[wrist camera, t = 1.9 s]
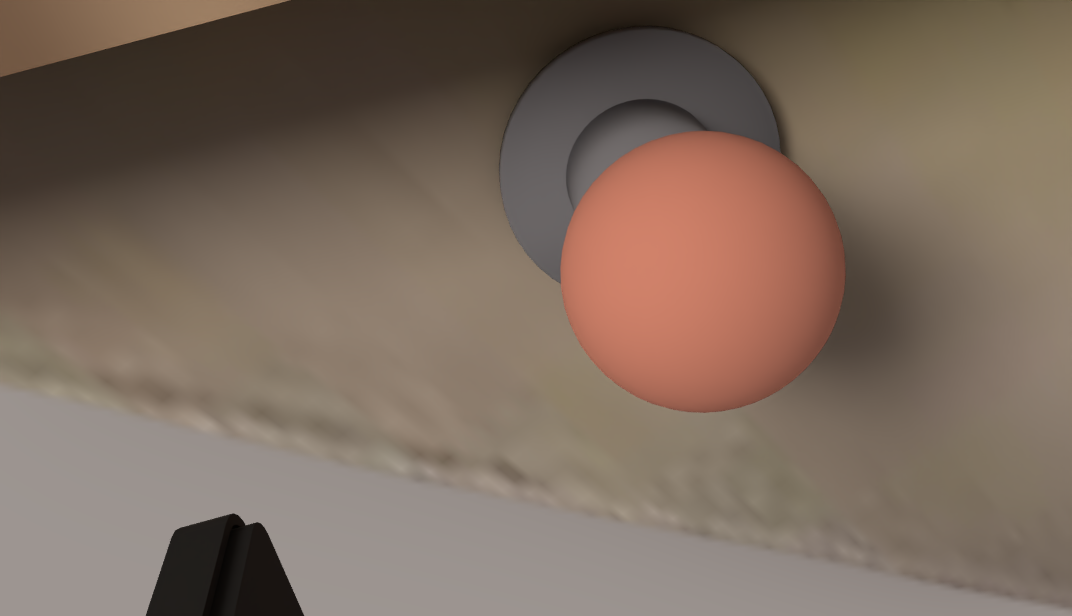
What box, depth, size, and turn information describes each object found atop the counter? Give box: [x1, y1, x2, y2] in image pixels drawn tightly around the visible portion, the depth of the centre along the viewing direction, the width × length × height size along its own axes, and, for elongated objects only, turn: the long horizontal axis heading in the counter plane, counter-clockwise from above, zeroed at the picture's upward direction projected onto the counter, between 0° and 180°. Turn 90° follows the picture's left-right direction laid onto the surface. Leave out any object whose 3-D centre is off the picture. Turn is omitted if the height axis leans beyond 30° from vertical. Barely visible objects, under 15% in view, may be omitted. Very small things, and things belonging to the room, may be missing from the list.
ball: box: [560, 131, 846, 413], centre depth 15 cm, size 4×4×4 cm
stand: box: [499, 26, 780, 284], centre depth 18 cm, size 5×5×3 cm
